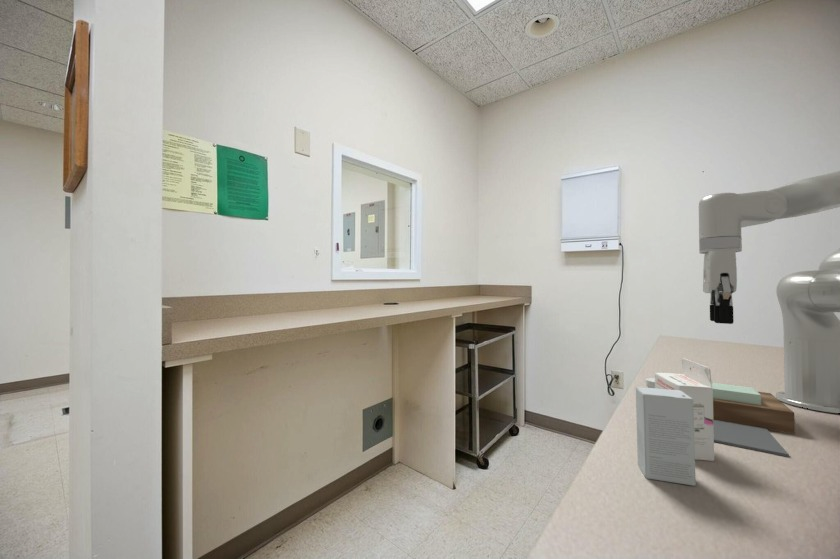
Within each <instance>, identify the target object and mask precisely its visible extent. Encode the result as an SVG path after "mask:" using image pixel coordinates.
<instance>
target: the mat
mask: <svg viewBox="0 0 840 559" xmlns="http://www.w3.org/2000/svg"><path fill="white" fill-rule="evenodd" d="M713 424H714V443H718V444H723V445H727V446H733V447H738V448H742V449H746V450H747V449H748V450H753V451H758V452H763V453H766V454H767V453H768V454H772V455H777V456H778V455H779V456H782V457H788V458H790V454H789V452H788V451H787V450H786V449H785V448H784V447H783V446H782V444H780V442H778V440H777V439H776V438H775V436H774V435H773V434H772V433H771V432H770V430H768V429H765V428H760V427H754V426H748V425H742V424H736V423H731V422H725V421H719V420H713Z"/></svg>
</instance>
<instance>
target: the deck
mask: <svg viewBox="0 0 840 559" xmlns="http://www.w3.org/2000/svg"><path fill="white" fill-rule="evenodd" d="M757 392H758V393H759V394H760V395H761V405H757V404H750V403H743V402H736V401H729V400H722V399H715V398H713V420H719V421H725V422H731V423H736V424H742V425H748V426H754V427H760V428H765V429H767V430H768V431H774V432H779V433H780V432H781V433H786V434H792V435H795V434H796V431H795V430H796V428H795V426H796V425H795V424H796V423H795V412H794V411H793V410H792V409H791V408H789V407H788V406H787V405H786V404H785V403H784V402H782V401H780V400H778V399H777V398H776V395H774V394H772V392H764V391H757Z"/></svg>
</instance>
